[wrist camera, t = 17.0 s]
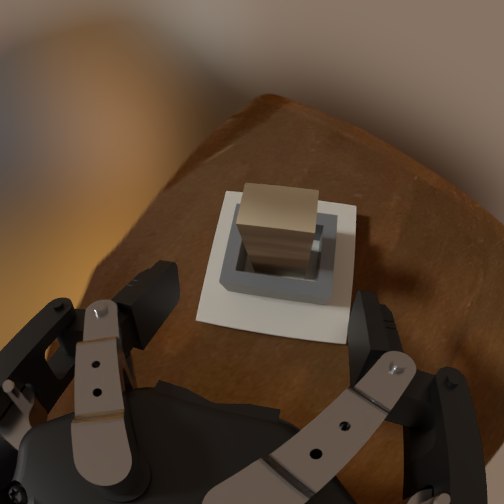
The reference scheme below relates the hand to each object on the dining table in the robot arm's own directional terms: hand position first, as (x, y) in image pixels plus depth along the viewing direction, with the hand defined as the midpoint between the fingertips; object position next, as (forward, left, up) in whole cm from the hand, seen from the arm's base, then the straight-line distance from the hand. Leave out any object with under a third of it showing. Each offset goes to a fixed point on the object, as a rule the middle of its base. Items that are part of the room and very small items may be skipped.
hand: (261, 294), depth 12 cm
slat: (-2, -5, -10) cm, 11 cm away
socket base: (-2, -5, -11) cm, 12 cm away
